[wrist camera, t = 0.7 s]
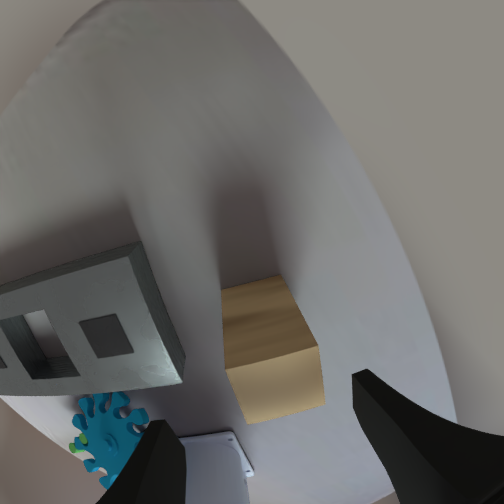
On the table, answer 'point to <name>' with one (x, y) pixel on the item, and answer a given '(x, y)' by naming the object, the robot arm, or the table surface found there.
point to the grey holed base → (90, 328)
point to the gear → (107, 434)
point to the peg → (269, 351)
